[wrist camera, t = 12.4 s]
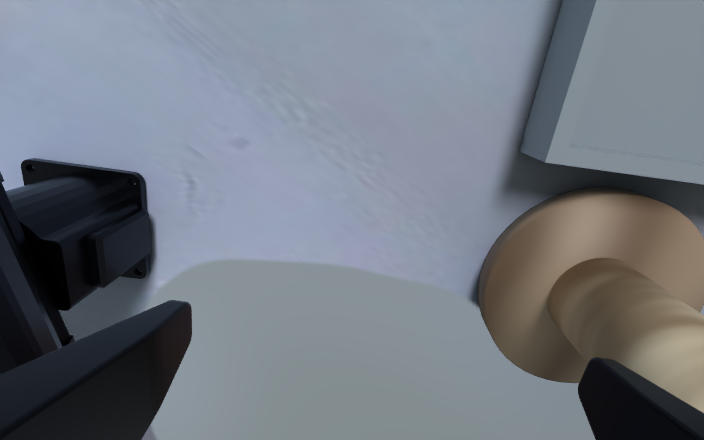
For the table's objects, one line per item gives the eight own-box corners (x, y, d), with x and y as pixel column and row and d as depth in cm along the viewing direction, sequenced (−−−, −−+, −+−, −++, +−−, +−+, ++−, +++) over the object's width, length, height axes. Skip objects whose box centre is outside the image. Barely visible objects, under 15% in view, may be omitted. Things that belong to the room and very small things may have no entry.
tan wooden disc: (457, 352, 24) (463, 369, 23) (508, 172, 20) (520, 179, 18) (638, 376, 24) (655, 394, 23) (727, 203, 20) (754, 212, 19)
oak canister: (536, 329, 21) (753, 636, 9) (564, 251, 20) (874, 506, 8) (620, 340, 21) (942, 659, 10) (656, 264, 20) (1102, 536, 8)
